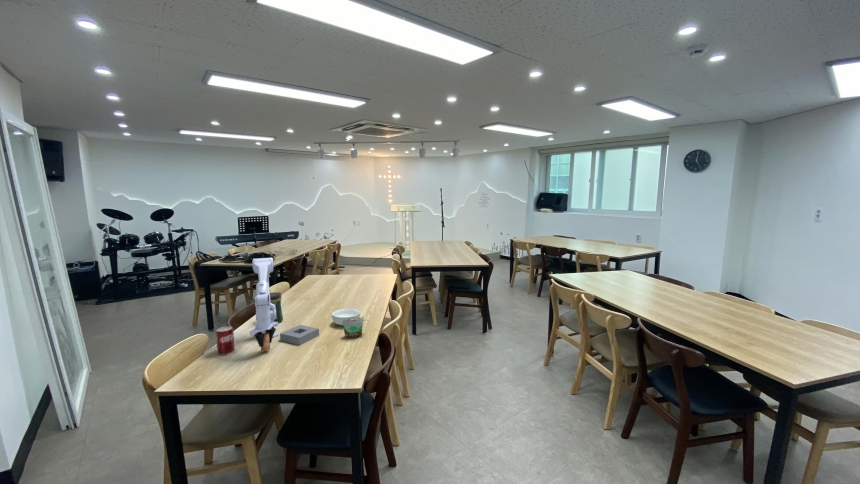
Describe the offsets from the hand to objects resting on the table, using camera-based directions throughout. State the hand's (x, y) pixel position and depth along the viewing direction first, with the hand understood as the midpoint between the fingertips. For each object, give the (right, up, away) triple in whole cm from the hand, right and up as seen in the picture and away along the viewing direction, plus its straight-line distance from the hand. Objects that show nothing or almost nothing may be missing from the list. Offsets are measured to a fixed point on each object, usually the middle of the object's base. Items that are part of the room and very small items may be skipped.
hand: (265, 344), depth 161 cm
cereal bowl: (+30, 0, +39) cm, 49 cm away
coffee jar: (-16, +1, +43) cm, 45 cm away
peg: (0, -2, 0) cm, 2 cm away
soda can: (-20, -4, +1) cm, 20 cm away
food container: (+40, -2, +20) cm, 44 cm away
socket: (+10, -2, +18) cm, 20 cm away
